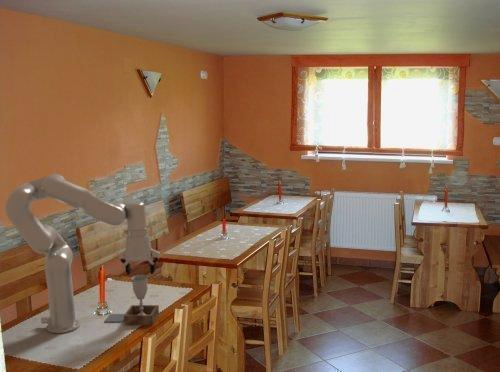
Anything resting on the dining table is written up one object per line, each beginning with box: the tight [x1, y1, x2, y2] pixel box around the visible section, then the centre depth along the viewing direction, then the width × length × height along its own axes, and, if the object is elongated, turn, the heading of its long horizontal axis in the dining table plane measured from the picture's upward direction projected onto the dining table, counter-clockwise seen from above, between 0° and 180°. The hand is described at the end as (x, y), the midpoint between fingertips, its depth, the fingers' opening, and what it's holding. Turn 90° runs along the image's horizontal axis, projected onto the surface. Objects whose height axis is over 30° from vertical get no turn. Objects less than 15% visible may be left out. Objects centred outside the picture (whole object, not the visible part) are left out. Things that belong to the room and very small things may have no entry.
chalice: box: [130, 274, 149, 315], centre depth 232 cm, size 7×7×18 cm
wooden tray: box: [123, 304, 160, 326], centre depth 233 cm, size 12×12×4 cm
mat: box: [103, 313, 125, 323], centre depth 235 cm, size 8×8×1 cm
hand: (140, 273), depth 230 cm, fingers open, 9 cm apart
